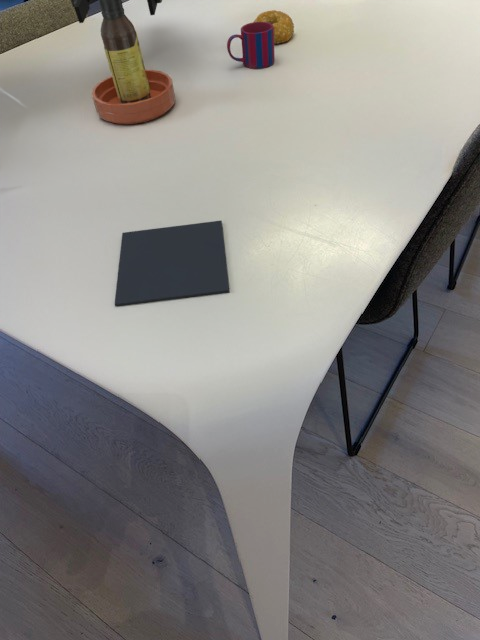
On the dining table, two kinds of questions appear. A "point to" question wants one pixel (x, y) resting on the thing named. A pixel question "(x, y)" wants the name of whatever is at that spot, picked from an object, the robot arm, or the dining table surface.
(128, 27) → the sauce bottle
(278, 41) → the bagel
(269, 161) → the dining table surface
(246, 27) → the mug
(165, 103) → the dish
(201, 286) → the mat
